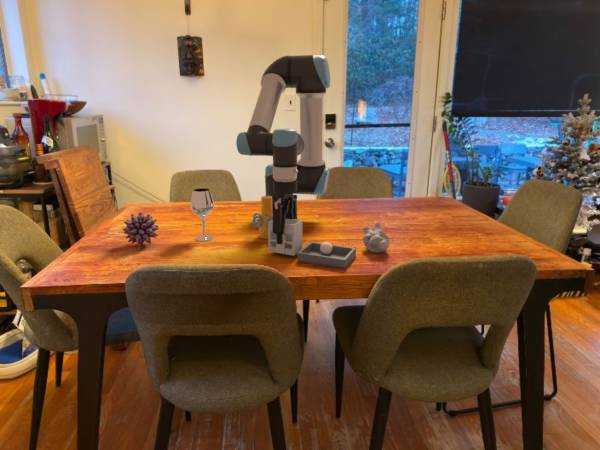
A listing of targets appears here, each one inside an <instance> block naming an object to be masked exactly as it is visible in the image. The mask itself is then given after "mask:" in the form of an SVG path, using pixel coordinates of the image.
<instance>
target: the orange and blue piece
mask: <svg viewBox="0 0 600 450" xmlns="http://www.w3.org/2000/svg"><path fill="white" fill-rule="evenodd" d="M260 205H261V207H260V208H261V209H260V211H261V213H260V212H255V213H254V214H253V215H252V222H251V223H252V226H253V227H255V228H258V233H259V235H258V236H259V238H260V239H262V240H268V222H269V221H271V220H273V214H272V196H266V195H262V196H261V197H260ZM257 219H260V221H257Z"/></svg>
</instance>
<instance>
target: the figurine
mask: <svg viewBox="0 0 600 450" xmlns="http://www.w3.org/2000/svg"><path fill="white" fill-rule="evenodd" d="M362 230H363V232H364V234H365V235H363V237H362V242H363V245H364V247H365V248H366V249H367V250H368V251H369V252H370V253H374V254H377V253H378V254H379V253H383V252H386V251H387V250H388V249H389V248H390V237H389V235H388V233H386V232H385V230H384V229H381V222H379V221H377V222H376V223H375V225H374V227H373V228H371V227H370V226H368V225H366V226H364V227H363V228H362Z"/></svg>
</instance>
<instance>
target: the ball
mask: <svg viewBox="0 0 600 450" xmlns="http://www.w3.org/2000/svg"><path fill="white" fill-rule="evenodd" d="M332 245H333V244H332V243H330V242H328V241H324V242H322V244H321V246H320V251H321V252H322V253H323V254H329V253H331V251H332Z"/></svg>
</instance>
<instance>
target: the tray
mask: <svg viewBox="0 0 600 450" xmlns="http://www.w3.org/2000/svg"><path fill="white" fill-rule="evenodd" d="M322 243H323V242H322ZM322 243H321V242H315V241H310V242H309V243H308V244H307V245H305V246H303V247H302V249H301V250H300V251H299V252H297V254H296V262H298V263H302V264H308V265H315V266H322V267H327V268H328V267H329V268H333V269H334V268H335V269H341V270H346V269H347V267H348V266H349V265H350V264H351V263H352V262H353V261H354V259H355V258H357V256H356V255H357V248H356V247H350V246H343V245H335V244H331V245H332V251H331V253H329V254H323V253H322V252H321V251H320V246H321V244H322Z"/></svg>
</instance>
